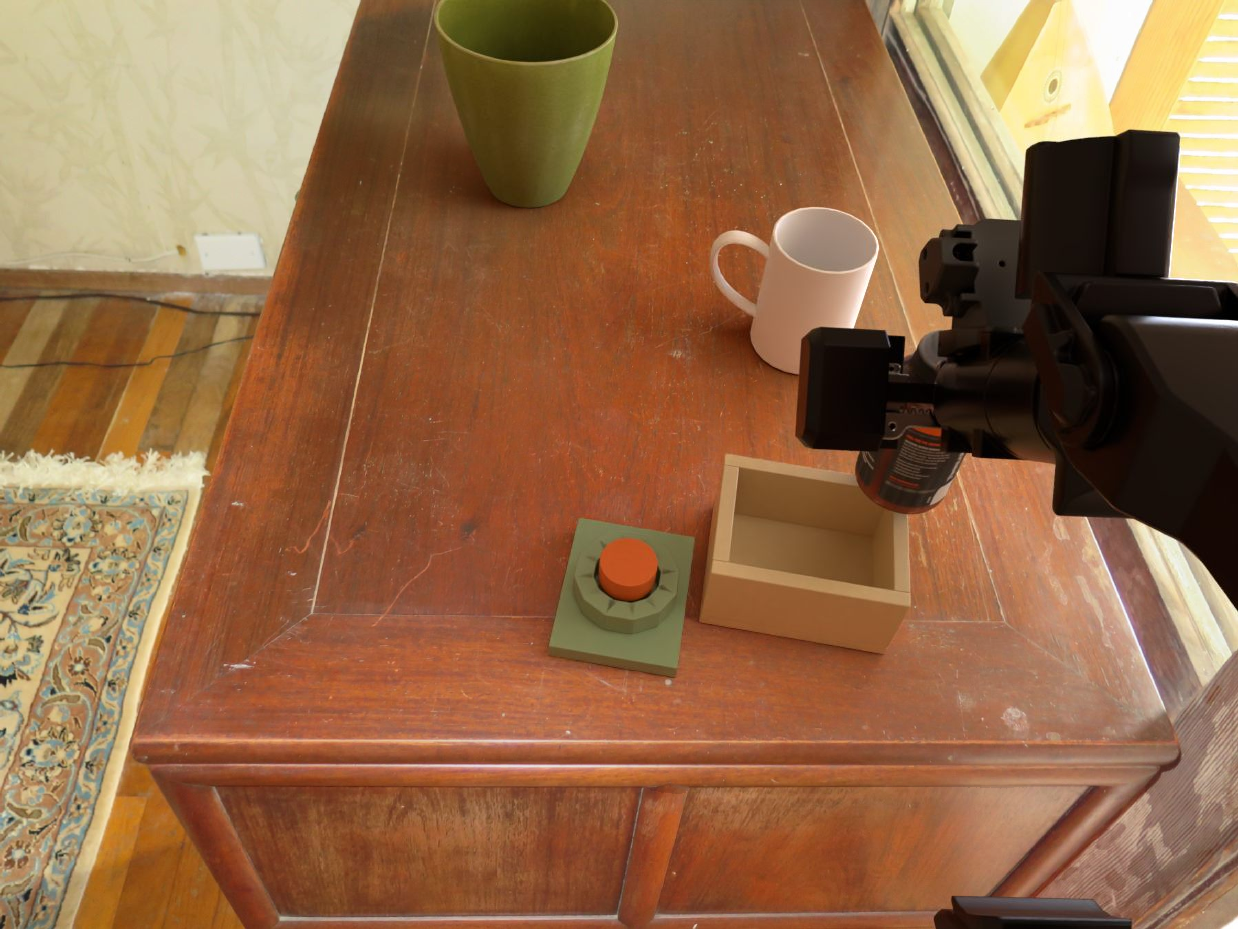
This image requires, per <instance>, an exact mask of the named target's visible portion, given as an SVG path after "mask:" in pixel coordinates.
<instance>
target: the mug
mask: <svg viewBox="0 0 1238 929" xmlns="http://www.w3.org/2000/svg"><path fill="white" fill-rule="evenodd" d="M731 244H737V245H743V246H745V247H748V248H750V249H752V250H754V251H755V252H757V253H758V254H760V255H761V256H762V257H763V258H764V259H766V260H765V265H764V269H763V274H762V278H761V283H760V287H759V292H758V296H757V301H756V303H753V302H752V301H751V300H749V299H747V298H746V297H744V296H742V295H741V294H740V293H739V292H738V291H736V290H735V289H734V288H733V287H732V286H731V285H730V284H729V283H728V282H727V280H726V279H725V277H724V276H723V274H722V272H721V270H720V267H719V261H718V260H719V253H720V251H721V250H722V249H723V247H724V246H727V245H731ZM879 250H880V245H879V241H878V238H877V236H876V234H875V233H874V231H873V230H872V229H871V227H869V226H868V225H867V224H866V223H865V222H863V220H860V219H859V218H857V217H856V216H854V215H852V214H849V213H847V212H844V211H842V210H838V209H834V208H829V207H821V206H820V207H819V206H810V207H800V208H797V209H794V210H791V211H788V212H787V213H785V214H783V215H782V216H780V217H779V218H778V219H777V221H776V222H775V224H774V225H773V230H772V234H771V238H770V243H769V245H768V244H767V243H766V242H765V241H764V240H762V239H761V238H759V237H758V236H756V235H753V234H752V233H749V232H746V231H743V230H737V229H736V230H735V229H734V230H727V231H725V232H723V233H721V234H719V235H718V236H717V238H715V240H714V241H713V243H712V245H711V247H710V255H709V271H710V274H711V277H712V281H713V282H714V284H715V285H716V287H717V288H718V290H719V291H720V293H721V294H722V295H723V296H724V297H725V298H726V299H727V300H728V301H730V302H731V303H732V304H733V305H734V306H735V307H737V308H738V309H739V310H741V311H743V312H744V313H746V314H747V315H748V316H749V315H750V316H751V317H752V323H751V328H750V334H749V335H750V342H751V344H752V346H753V348H754V351H755V352H756V354H757V355H758V356H759V357H760V358H761V359H762V360H763V361H764V362H766V363H767V364H769V365H770V366H771V367H773V368H776V369H778V370H780V371H782V372H784V373H789V374H794V375H799V366H800V350H801V339H802V338H803V337H804V336H805V335H806V334H807V333H808V332H810V331H811V330H812V329H814V328H818V327H836V328H855V325H856V322H857V319H858V316H859V313H860V310H861V307H862V305H863V304H862V303H863V300H864V298H865V295H866V291H867V288H868V286H869V283H870V279H871V276H872V273H873V272H874V268H875V265H876V261H877V258H878V255H879Z"/></svg>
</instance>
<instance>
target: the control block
mask: <svg viewBox="0 0 1238 929" xmlns="http://www.w3.org/2000/svg"><path fill="white" fill-rule="evenodd" d="M622 538H632V539H637V540H640V541H642V542H644V543H646V544H647V545H648V546H650V547H651V548H652V550H653V551H654V553H655V554H656V557H657V561H658V567H657V573H656V579H655V584H654V586H653V588H652V590H651V591H650V592H649V593H648V594H647V595H646V596H645V597H643V598H641V599H638V600H635V601H622V600H618V599H615V598H613V597H611V596H610V595H608V594H607V593H606V592H605V591H604V590H603V588H602V587H601V585H600V582H599V576H598V574H599V563H600V556H601V553H602V551H603V550H604V548H605V547H606V546H607V545H608V544H610V543H611V542H613V541H615V540H618V539H622ZM572 539H573V540H572V544H571V548H570V552H569V556H568V560H567V566H566V570H565V573H564V578H563V582H562V586H561V591H560V594H559V598H558V599H559V600H558V603H557V607H556V612H555V616H554V620H553V625H552V629H551V633H550V638H549V641H548V650H547V653H548V656H552V657H558V658H563V659H568V660H573V661H574V660H575V661H580V662H584V663H585V662H586V663H590V664H596V665H603V666H608V667H613V668H619V669H625V670H630V671H637V672H641V673H647V674H654V675H658V676H664V677H671V678H676V675H677V672H678V666H679V659H680V652H681V644H682V638H683V637H682V636H683V631H684V622H685V616H686V609H687V603H688V602H687V601H688V594H689V586H690V580H691V572H692V564H693V556H694V550H695V545H696V544H695V543H696V537H695V536H689V535H683V534H679V533H672V532H667V531H660V530H655V529H649V528H642V527H636V526H631V525H624V524H618V523H613V522H606V521H601V520H596V519H589V518H583V517H578V519H577V523H576V527H575V530H574V535H573V538H572Z"/></svg>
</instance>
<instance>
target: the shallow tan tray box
mask: <svg viewBox="0 0 1238 929" xmlns="http://www.w3.org/2000/svg"><path fill="white" fill-rule="evenodd" d="M909 538H910V537H909V514H901V513H896V512H893V511H890V510H887V509H884V508H883V507H880V506H879V505H877V504H875V503H874V502H873V501H872V500H870V499H869V498H868V497H867V496H866V495H865V494H864V492H863V491H862V490H861V488H860V487H859V485H858V483H857V480H856V476H855V474H853V473H847V472H842V471H835V470H828V469H822V468H815V467H810V466H805V465H797V464H791V463H785V462H781V461H780V462H779V461H773V460H768V459H761V458H755V457H750V456H743V455H737V454H730V453H725V454H724V458H723V463H722V467H721V471H720V475H719V479H718V484H717V489H716V493H715V498H714V502H713V505H712V513H711V523H710V530H709V539H708V546H707V553H706V561H705V568H704V569H705V570H704V578H703V586H702V593H701V601H700V609H699V610H700V611H699V618H698V622H699V623H700V624H701V623H702V624H708V625H713V626H720V627H724V628H731V629H737V630H742V631H748V632H754V633H758V634H759V633H760V634H766V635H772V636H777V637H782V638H788V639H794V640H799V641H806V642H811V643H818V644H823V645H828V646H834V647H840V648H845V649H850V650H858V651H862V652H863V651H864V652H869V653H874V654H880V655H886V653H887V651H888V649H889V647H890V645H891V643H892V641H893V640H894V638H895V636H896V634H897V633H898V630H899V629H900V627H901V625H902V624H903V622H904V620H905V618H906V616H907V614H908V612H909V611H910V609H911V607H912V603H911V602H912V600H911V597H912V596H911V571H910V570H911V568H910V567H911V566H910V540H909Z"/></svg>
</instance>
